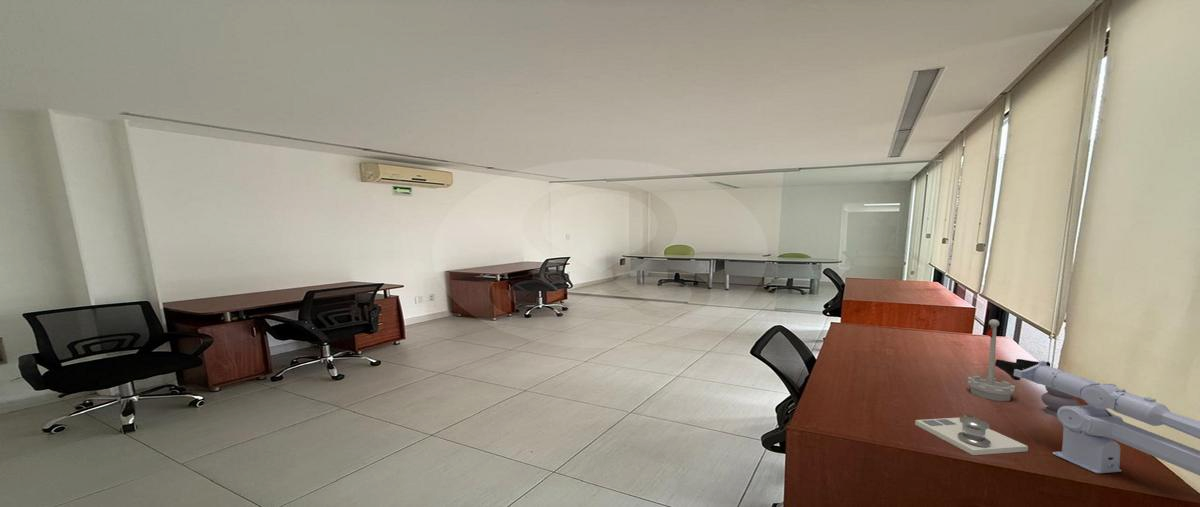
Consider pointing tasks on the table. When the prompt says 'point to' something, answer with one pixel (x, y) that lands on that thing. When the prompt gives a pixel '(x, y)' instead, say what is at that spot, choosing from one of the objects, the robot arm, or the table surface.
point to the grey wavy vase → (1057, 400)
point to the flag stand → (991, 375)
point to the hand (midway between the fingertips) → (1006, 362)
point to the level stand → (949, 433)
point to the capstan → (974, 431)
